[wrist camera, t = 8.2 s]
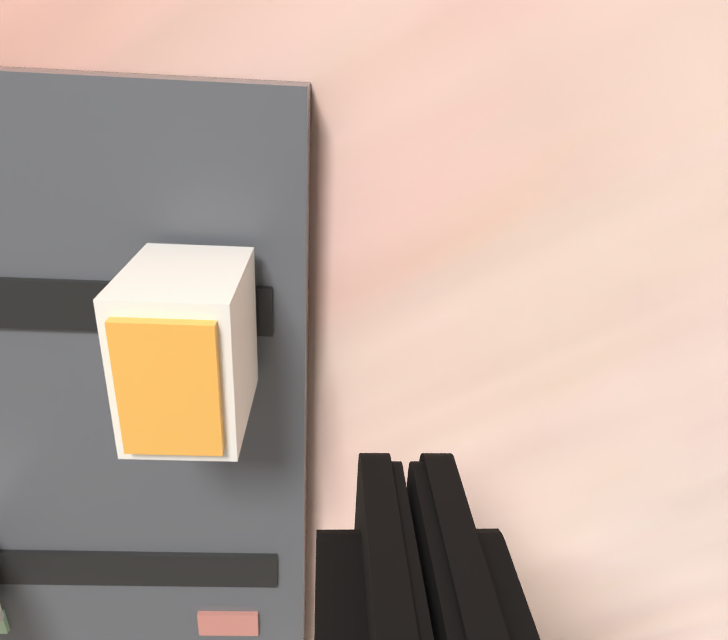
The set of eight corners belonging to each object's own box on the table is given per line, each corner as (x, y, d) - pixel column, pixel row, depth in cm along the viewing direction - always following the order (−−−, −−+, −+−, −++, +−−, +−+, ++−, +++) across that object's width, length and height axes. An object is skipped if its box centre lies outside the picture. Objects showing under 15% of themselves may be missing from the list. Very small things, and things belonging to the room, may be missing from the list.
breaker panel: (310, 82, 17) (307, 87, 16) (304, 645, 27) (301, 681, 26) (-279, 51, 16) (-344, 54, 15) (-57, 642, 27) (-82, 679, 25)
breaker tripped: (253, 247, 17) (226, 310, 13) (258, 379, 19) (235, 469, 15) (146, 243, 17) (87, 305, 13) (161, 377, 19) (114, 466, 15)
